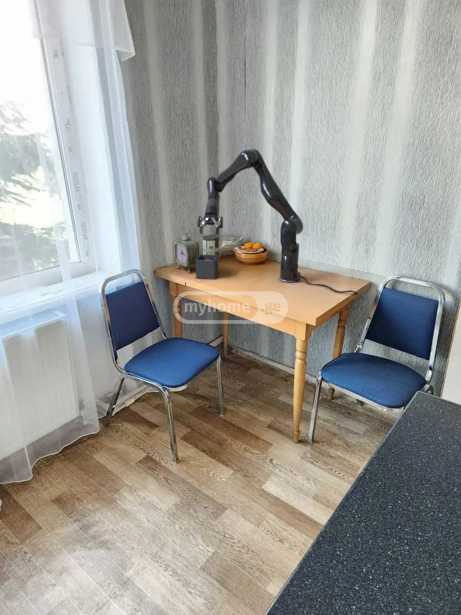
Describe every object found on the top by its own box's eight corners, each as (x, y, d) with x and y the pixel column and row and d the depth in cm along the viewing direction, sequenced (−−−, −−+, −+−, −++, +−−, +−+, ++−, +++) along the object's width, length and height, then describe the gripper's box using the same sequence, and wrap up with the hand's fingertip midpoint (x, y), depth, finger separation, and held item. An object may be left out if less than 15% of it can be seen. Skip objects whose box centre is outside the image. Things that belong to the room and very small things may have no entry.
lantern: (214, 255, 255) (214, 234, 249) (222, 259, 247) (221, 237, 241) (200, 258, 250) (199, 236, 244) (207, 262, 242) (206, 239, 236)
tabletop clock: (173, 268, 232) (171, 226, 221) (186, 265, 237) (184, 223, 227) (188, 274, 222) (186, 230, 212) (201, 270, 228) (199, 228, 217)
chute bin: (218, 273, 224) (217, 255, 220) (214, 279, 215) (214, 260, 210) (200, 272, 225) (199, 254, 221) (196, 278, 216) (195, 260, 212)
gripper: (198, 204, 221) (195, 229, 215) (223, 205, 219) (220, 230, 214) (201, 212, 228) (197, 236, 222) (225, 212, 226) (222, 237, 221)
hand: (208, 233), depth 218 cm, fingers open, 8 cm apart
